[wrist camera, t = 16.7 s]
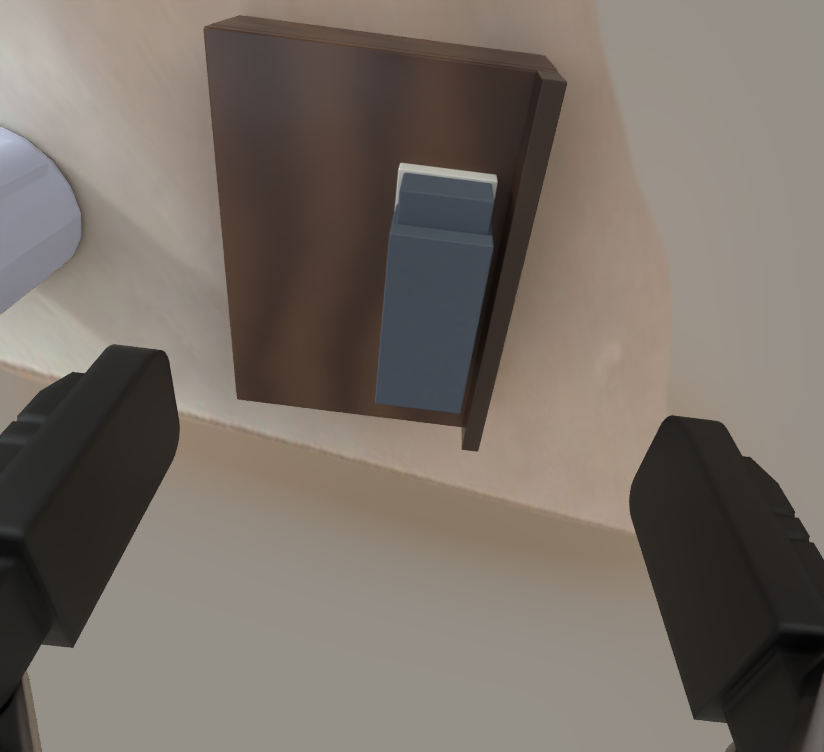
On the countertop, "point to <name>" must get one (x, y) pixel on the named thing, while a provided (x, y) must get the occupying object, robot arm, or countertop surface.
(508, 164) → the board
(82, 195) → the countertop surface
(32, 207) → the soap bottle
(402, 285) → the stepped grey pillar
